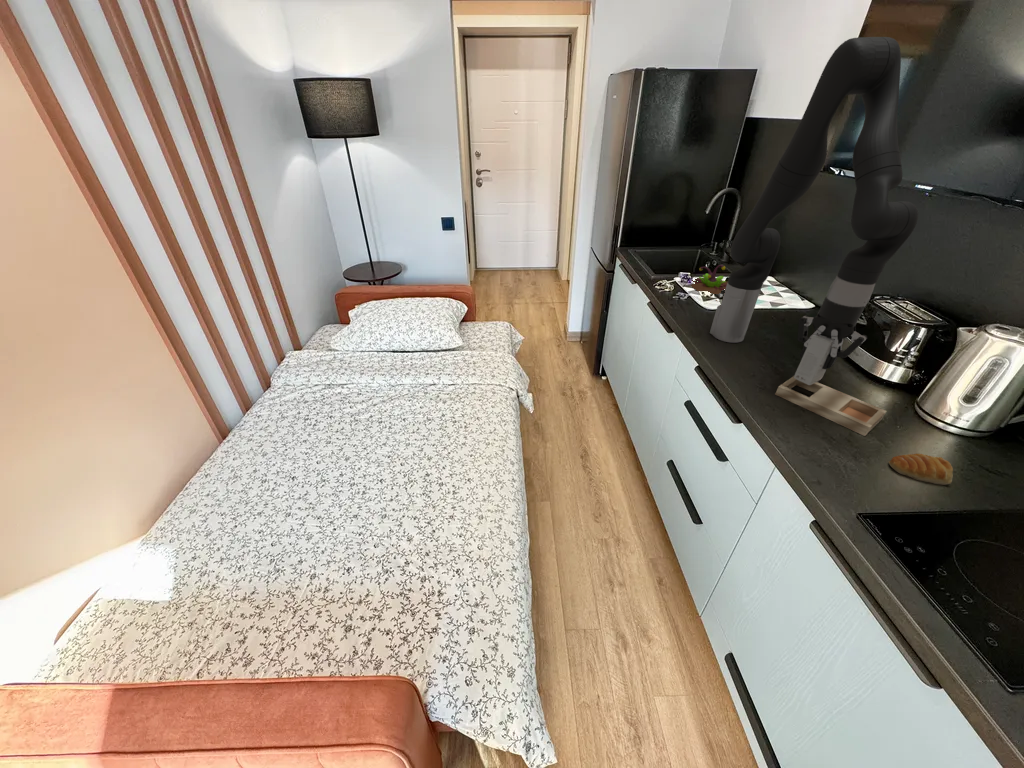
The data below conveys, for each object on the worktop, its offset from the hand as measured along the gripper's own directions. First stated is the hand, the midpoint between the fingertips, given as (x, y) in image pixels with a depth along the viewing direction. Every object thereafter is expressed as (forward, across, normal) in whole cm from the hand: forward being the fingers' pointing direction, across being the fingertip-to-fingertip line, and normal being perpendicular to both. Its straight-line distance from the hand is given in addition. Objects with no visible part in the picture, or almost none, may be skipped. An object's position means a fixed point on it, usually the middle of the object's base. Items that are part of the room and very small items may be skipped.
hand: (814, 363), depth 102 cm
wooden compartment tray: (+9, +6, 0) cm, 11 cm away
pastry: (+9, +27, -9) cm, 30 cm away
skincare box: (+5, 0, 0) cm, 5 cm away
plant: (+11, -54, +45) cm, 71 cm away
